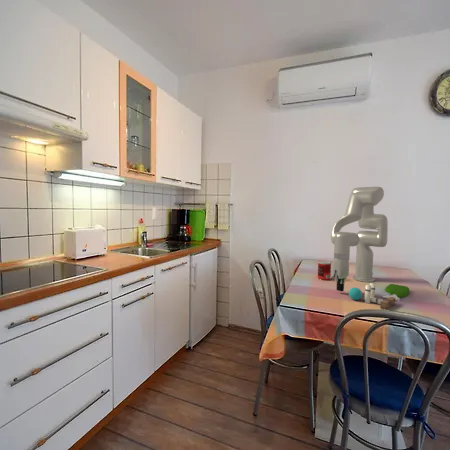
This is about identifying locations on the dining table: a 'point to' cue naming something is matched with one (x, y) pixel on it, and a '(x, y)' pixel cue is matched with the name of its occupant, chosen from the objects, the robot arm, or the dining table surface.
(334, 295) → the dining table surface
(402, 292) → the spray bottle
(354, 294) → the ball
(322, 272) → the canned food
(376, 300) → the front pin
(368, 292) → the back pin near
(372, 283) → the back pin far
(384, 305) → the brown wooden bar
